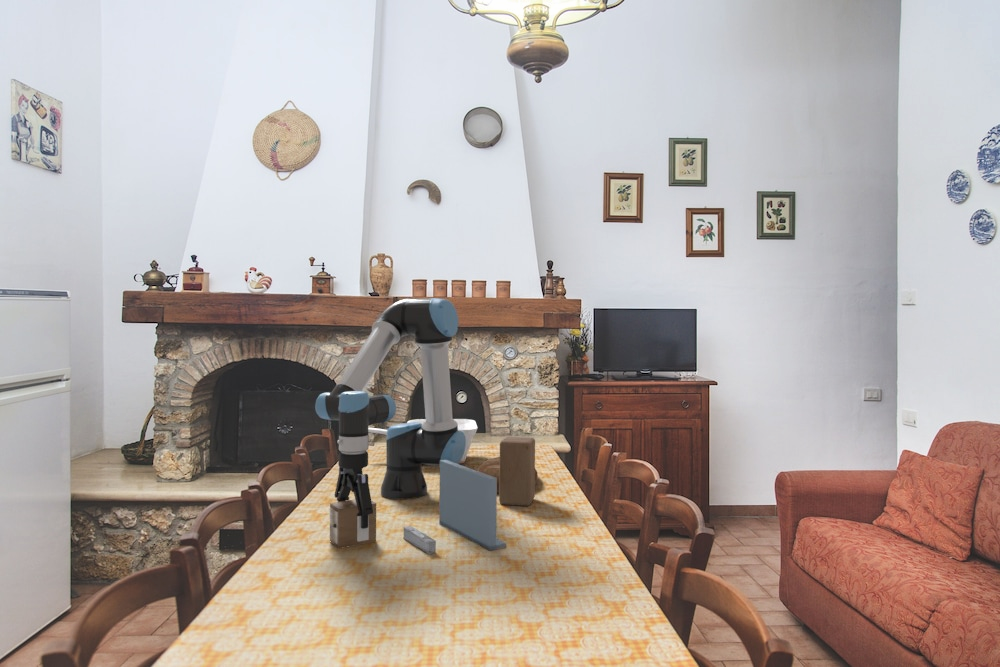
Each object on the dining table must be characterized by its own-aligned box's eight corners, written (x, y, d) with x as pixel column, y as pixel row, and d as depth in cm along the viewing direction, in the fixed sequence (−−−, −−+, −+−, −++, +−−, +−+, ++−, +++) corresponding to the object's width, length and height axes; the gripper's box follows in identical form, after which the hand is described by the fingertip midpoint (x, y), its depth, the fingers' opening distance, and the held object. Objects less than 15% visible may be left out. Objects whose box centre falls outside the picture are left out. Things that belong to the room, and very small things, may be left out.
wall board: (439, 523, 188) (439, 460, 188) (454, 521, 191) (455, 458, 191) (489, 550, 167) (490, 479, 166) (506, 547, 170) (506, 476, 169)
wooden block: (530, 507, 206) (530, 442, 206) (498, 505, 208) (499, 441, 208) (534, 498, 216) (535, 437, 215) (504, 496, 218) (505, 435, 217)
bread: (473, 496, 219) (473, 470, 219) (477, 470, 256) (478, 449, 256) (540, 497, 219) (540, 471, 219) (534, 471, 256) (535, 449, 256)
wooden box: (326, 542, 172) (326, 503, 172) (366, 534, 178) (366, 497, 178) (335, 549, 167) (335, 509, 167) (376, 541, 173) (376, 503, 173)
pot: (478, 467, 260) (478, 429, 260) (363, 469, 256) (363, 430, 256) (474, 453, 289) (474, 418, 288) (370, 454, 285) (370, 419, 284)
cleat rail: (403, 538, 175) (403, 527, 175) (410, 537, 177) (410, 525, 177) (428, 554, 164) (428, 542, 164) (435, 552, 165) (435, 540, 165)
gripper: (322, 445, 181) (322, 523, 181) (358, 461, 160) (357, 549, 160) (349, 442, 185) (348, 518, 185) (387, 458, 164) (386, 544, 165)
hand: (352, 533), depth 173 cm, fingers open, 13 cm apart
